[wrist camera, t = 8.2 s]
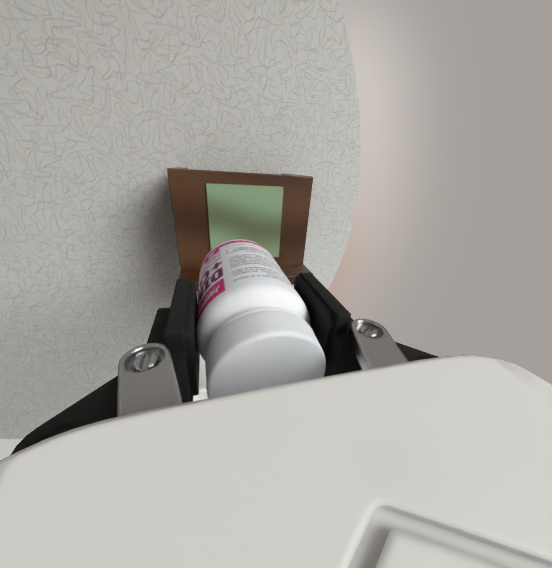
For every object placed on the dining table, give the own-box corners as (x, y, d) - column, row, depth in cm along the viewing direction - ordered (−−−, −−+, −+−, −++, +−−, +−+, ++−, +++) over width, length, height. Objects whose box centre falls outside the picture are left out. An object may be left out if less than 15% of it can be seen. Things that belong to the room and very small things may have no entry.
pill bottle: (199, 234, 13) (193, 322, 6) (280, 240, 14) (356, 318, 7) (198, 306, 15) (192, 440, 8) (269, 306, 16) (320, 418, 9)
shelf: (176, 167, 25) (160, 168, 16) (290, 174, 28) (327, 178, 20) (186, 255, 29) (179, 293, 21) (284, 252, 33) (312, 283, 24)
